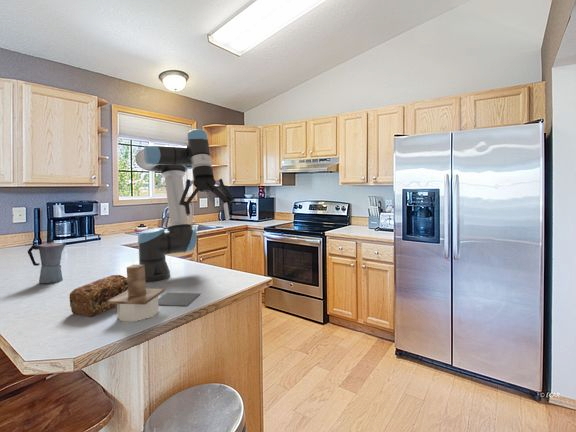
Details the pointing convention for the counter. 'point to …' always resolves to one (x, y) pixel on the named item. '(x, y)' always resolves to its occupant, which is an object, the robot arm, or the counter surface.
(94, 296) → the bread
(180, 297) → the mat
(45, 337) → the counter surface
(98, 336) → the counter surface
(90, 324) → the counter surface
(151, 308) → the bowl
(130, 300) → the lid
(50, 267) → the moka pot
